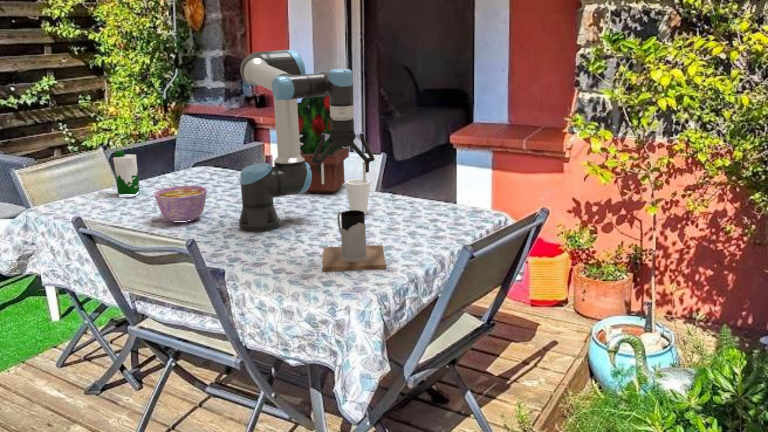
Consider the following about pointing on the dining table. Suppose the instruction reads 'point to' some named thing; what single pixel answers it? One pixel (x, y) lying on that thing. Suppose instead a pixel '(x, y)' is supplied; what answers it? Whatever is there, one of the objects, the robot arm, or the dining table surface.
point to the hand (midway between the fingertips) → (343, 182)
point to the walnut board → (336, 264)
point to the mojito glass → (126, 173)
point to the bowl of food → (181, 202)
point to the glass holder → (353, 235)
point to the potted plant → (311, 129)
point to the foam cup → (358, 194)
